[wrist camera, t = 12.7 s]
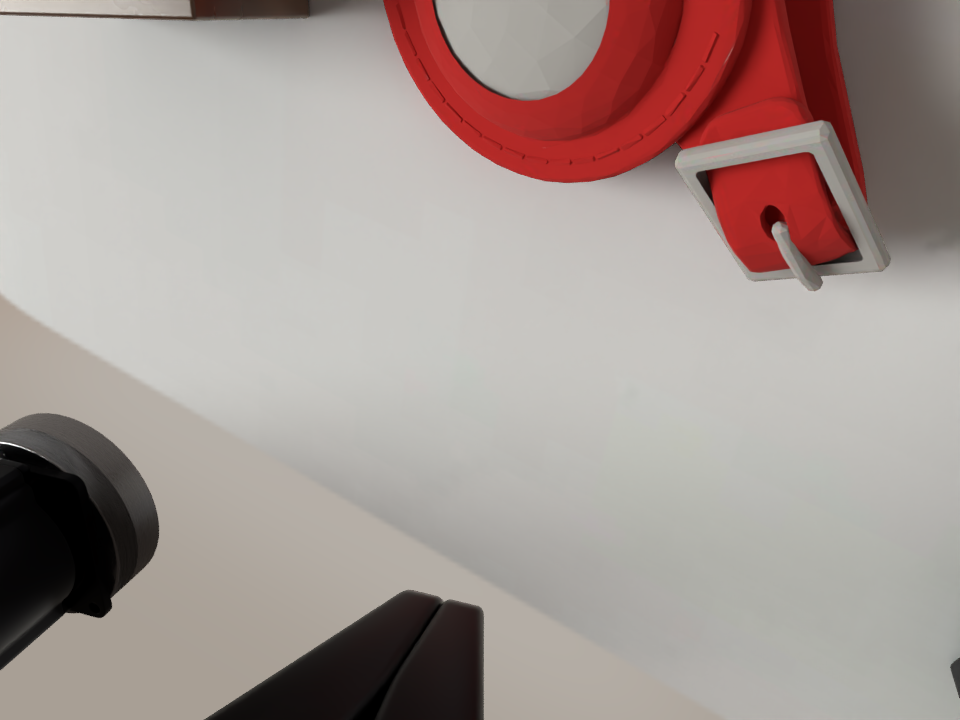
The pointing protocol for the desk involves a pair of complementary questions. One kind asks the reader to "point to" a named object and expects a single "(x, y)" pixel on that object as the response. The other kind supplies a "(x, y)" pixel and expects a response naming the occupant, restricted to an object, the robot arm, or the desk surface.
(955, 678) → the button box
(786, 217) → the tracker holder
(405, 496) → the desk surface
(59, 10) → the wooden block
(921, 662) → the desk surface
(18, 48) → the desk surface
